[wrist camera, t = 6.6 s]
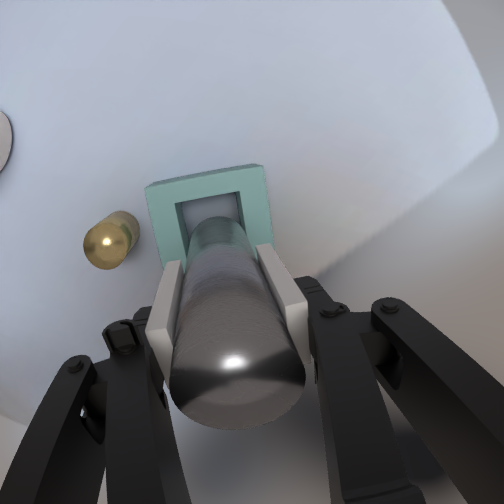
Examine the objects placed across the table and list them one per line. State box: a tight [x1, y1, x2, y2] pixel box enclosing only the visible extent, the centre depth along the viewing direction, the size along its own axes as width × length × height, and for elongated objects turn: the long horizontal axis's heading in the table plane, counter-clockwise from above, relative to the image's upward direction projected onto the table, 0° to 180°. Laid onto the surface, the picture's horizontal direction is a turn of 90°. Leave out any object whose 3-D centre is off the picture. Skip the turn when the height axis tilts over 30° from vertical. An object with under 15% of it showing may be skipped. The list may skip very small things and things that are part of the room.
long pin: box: [169, 217, 306, 430], centre depth 15 cm, size 4×4×14 cm
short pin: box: [83, 211, 140, 270], centre depth 27 cm, size 4×4×6 cm
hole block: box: [144, 164, 275, 273], centre depth 28 cm, size 10×9×5 cm
